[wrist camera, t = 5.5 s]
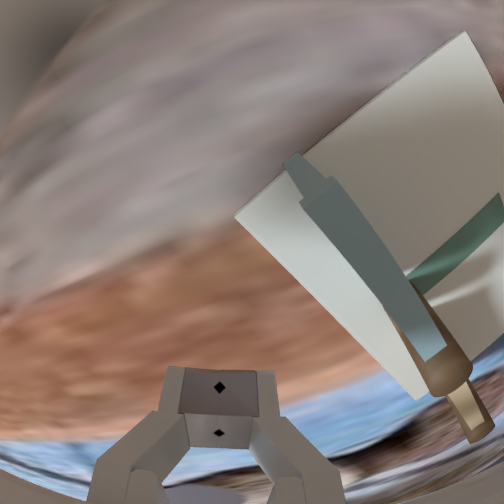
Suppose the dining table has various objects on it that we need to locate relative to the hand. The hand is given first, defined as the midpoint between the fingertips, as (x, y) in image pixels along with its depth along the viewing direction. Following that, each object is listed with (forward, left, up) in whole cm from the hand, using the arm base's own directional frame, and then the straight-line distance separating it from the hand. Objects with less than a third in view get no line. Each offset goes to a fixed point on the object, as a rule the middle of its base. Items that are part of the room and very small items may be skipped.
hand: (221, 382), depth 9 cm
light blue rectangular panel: (-2, -5, -7) cm, 9 cm away
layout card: (-9, -9, -8) cm, 15 cm away
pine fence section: (-14, -5, -7) cm, 16 cm away
